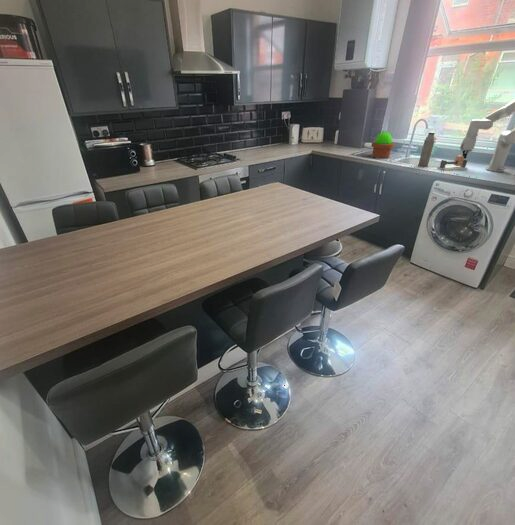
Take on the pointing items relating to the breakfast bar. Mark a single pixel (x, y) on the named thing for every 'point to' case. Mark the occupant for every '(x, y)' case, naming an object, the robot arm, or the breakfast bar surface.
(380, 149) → the potted cactus
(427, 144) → the thermos bottle
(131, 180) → the breakfast bar surface
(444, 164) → the rail
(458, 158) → the keeper
